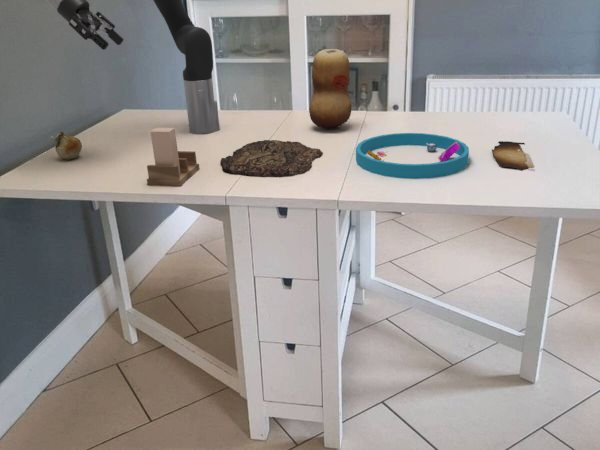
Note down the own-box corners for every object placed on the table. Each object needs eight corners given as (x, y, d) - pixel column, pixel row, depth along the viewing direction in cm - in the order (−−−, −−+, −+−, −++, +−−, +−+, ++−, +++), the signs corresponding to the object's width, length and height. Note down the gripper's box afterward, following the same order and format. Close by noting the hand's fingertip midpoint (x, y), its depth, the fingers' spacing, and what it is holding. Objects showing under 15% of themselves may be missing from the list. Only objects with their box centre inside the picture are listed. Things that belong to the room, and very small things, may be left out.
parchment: (536, 171, 149) (536, 168, 149) (495, 169, 151) (495, 166, 151) (524, 145, 171) (525, 142, 171) (489, 143, 174) (489, 140, 173)
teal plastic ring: (472, 181, 145) (474, 158, 143) (350, 178, 151) (350, 156, 148) (463, 146, 172) (465, 126, 170) (361, 144, 178) (361, 125, 175)
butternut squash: (324, 136, 186) (322, 54, 176) (302, 127, 197) (299, 50, 187) (360, 128, 192) (360, 49, 182) (337, 120, 203) (336, 45, 193)
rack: (168, 168, 163) (166, 150, 161) (199, 168, 161) (197, 151, 159) (147, 185, 151) (144, 166, 149) (180, 186, 149) (178, 167, 147)
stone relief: (205, 158, 156) (250, 129, 182) (207, 174, 158) (251, 143, 184) (298, 165, 148) (332, 133, 174) (299, 182, 150) (332, 147, 176)
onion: (61, 164, 170) (55, 137, 167) (53, 158, 176) (48, 131, 173) (87, 158, 174) (82, 132, 171) (79, 152, 180) (74, 127, 177)
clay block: (162, 172, 155) (156, 127, 150) (180, 173, 154) (174, 128, 149) (157, 177, 152) (150, 131, 147) (175, 177, 151) (169, 131, 146)
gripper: (58, -9, 149) (108, 38, 151) (87, -12, 161) (133, 31, 164) (44, 14, 152) (94, 59, 154) (73, 9, 164) (119, 51, 167)
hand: (114, 44), depth 159 cm, fingers open, 8 cm apart
